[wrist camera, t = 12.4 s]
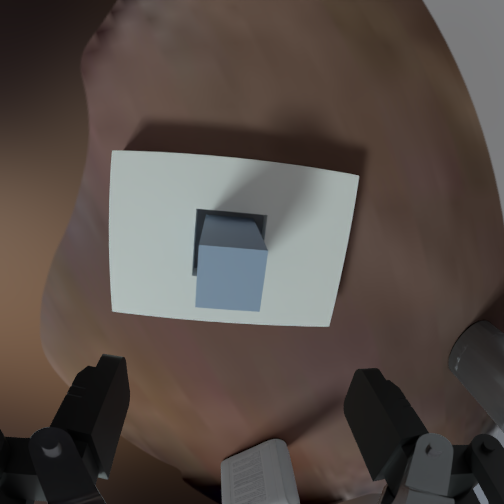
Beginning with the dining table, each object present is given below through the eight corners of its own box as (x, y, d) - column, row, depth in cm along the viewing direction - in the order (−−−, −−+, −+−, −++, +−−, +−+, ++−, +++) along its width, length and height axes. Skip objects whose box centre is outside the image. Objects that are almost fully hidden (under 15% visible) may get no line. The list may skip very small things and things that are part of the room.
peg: (253, 218, 27) (268, 250, 19) (248, 263, 28) (259, 311, 20) (206, 214, 27) (198, 244, 18) (202, 259, 28) (195, 307, 19)
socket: (346, 172, 28) (359, 175, 25) (320, 311, 32) (328, 326, 29) (123, 150, 25) (112, 150, 22) (121, 297, 29) (112, 311, 27)
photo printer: (234, 471, 40) (240, 539, 28) (215, 460, 38) (218, 532, 27) (292, 445, 39) (309, 517, 27) (275, 433, 37) (291, 509, 26)
